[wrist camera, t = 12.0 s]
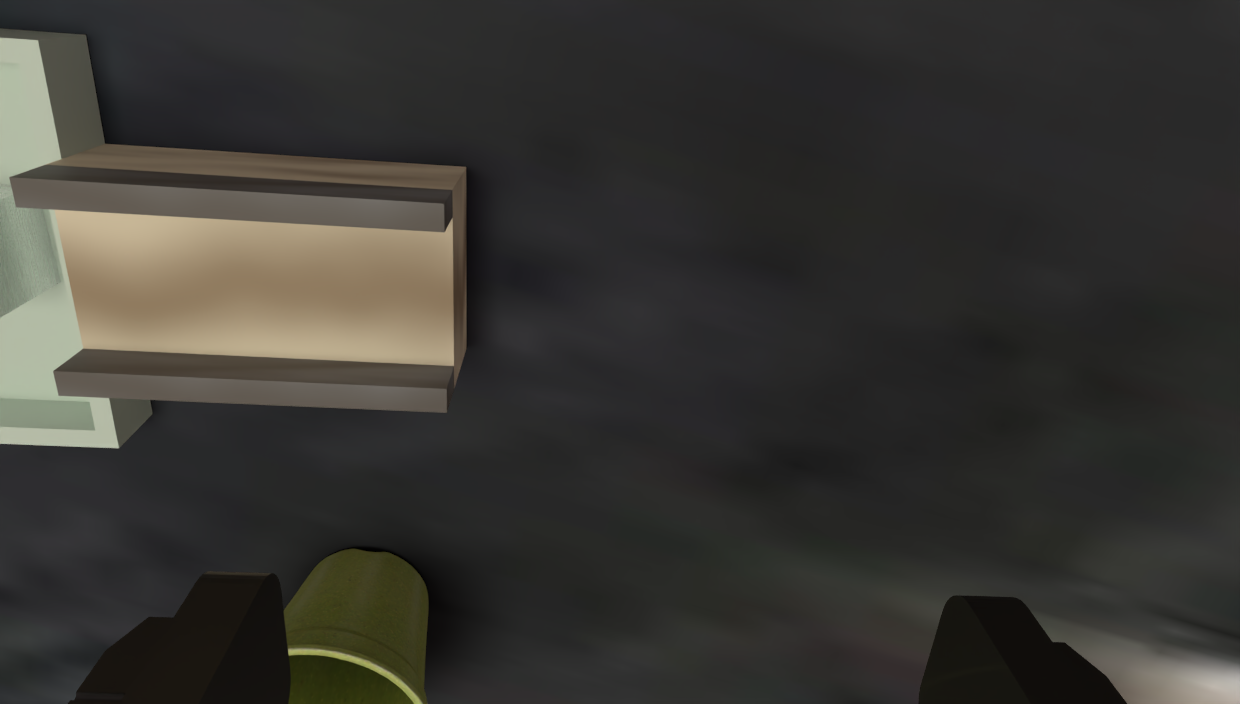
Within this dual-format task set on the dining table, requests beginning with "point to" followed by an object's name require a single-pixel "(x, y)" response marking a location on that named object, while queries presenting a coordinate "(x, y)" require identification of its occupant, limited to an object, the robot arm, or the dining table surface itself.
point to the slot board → (259, 276)
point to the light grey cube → (23, 253)
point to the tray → (47, 325)
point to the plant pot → (358, 632)
